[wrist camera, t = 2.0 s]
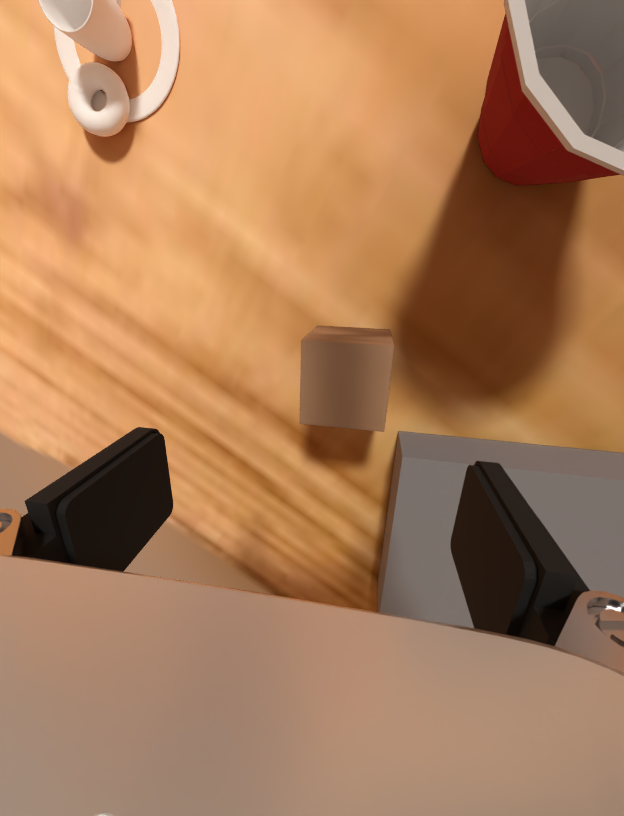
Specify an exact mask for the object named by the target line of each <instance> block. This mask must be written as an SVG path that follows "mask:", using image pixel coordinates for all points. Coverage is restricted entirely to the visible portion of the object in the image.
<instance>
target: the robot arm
mask: <svg viewBox="0 0 624 816" xmlns="http://www.w3.org/2000/svg"><path fill="white" fill-rule="evenodd" d="M25 504H26V506H27V510H28V514H26V515H24V516H23V517H21V515H20V513H19V512H18V511H16V510H13V509H0V816H624V598H623V597H620V596H618V595H615V594H611V593H608V592H604V591H593V590H592V591H590V590H589V588H588V587H587V585H586V584H585V583H584V581H583V580H582V578H581V577H580V576H579V574H578V573H577V571H576V570H575V569H574V567H573V566H572V564H571V563H570V561H569V560H568V559H567V557H566V556H565V554H564V553H563V552H562V550H561V549H560V547H559V546H558V545H557V543H556V542H555V540H554V539H553V538H552V536H551V535H550V533H549V532H548V530H547V529H546V528H545V526H544V525H543V523H542V522H541V521H540V519H539V518H538V517H537V516H536V514H535V513H534V511H533V510H532V508H531V507H530V506H529V504H528V503H527V501H526V500H525V499H524V497H523V496H522V494H521V493H520V491H519V490H518V489H517V487H516V486H515V484H514V483H513V482H512V480H511V479H510V477H509V476H508V475H507V473H506V472H505V470H504V469H503V467H502V466H501V465H500V464H499V463H495V462H485V461H476V462H475V464H474V465H469V466H468V467H467V470H466V474H465V479H464V483H463V488H462V492H461V497H460V501H459V505H458V510H457V514H456V519H455V523H454V528H453V532H452V536H451V543H450V546H451V553H452V557H453V560H454V563H455V567H456V570H457V573H458V576H459V580H460V583H461V586H462V590H463V593H464V596H465V600H466V603H467V606H468V609H469V613H470V616H471V619H472V623H473V626H474V628H470V627H465V626H460V625H453V624H447V623H441V622H435V621H429V620H423V619H417V618H411V617H405V616H399V615H393V614H387V613H381V612H375V611H368V610H362V609H356V608H350V607H344V606H338V605H332V604H326V603H320V602H314V601H307V600H301V599H295V598H289V597H283V596H276V595H270V594H264V593H257V592H251V591H245V590H239V589H232V588H226V587H219V586H213V585H207V584H200V583H194V582H188V581H181V580H175V579H168V578H162V577H155V576H148V575H142V574H135V573H129V572H123V571H124V570H125V569H126V568H127V566H128V565H129V564H130V563H131V562H132V561H133V559H134V558H135V557H136V556H137V554H138V553H139V552H140V551H141V550H142V548H143V547H144V546H145V545H146V544H147V542H148V541H149V540H150V539H151V537H152V536H153V535H154V533H156V531H157V530H158V529H159V528H160V527H161V525H162V524H163V523H164V522H165V521H166V519H167V518H168V517H169V516H170V514H171V512H172V509H173V498H172V491H171V484H170V476H169V469H168V462H167V455H166V447H165V440H164V436H163V435H162V434H160V433H159V431H158V430H157V429H152V428H141V427H138V428H135V429H134V430H132V431H131V432H129V433H128V434H126V435H125V436H123V437H122V438H120V439H119V440H117V441H116V442H114V443H113V444H111V445H110V446H108V447H106V448H105V449H103V450H102V451H100V452H99V453H97V454H96V455H94V456H93V457H91V458H90V459H88V460H87V461H85V462H84V463H82V464H81V465H79V466H77V467H76V468H74V469H73V470H71V471H70V472H68V473H67V474H65V475H64V476H62V477H61V478H59V479H58V480H56V481H55V482H53V483H52V484H50V485H49V486H47V487H46V488H44V489H42V490H41V491H39V492H38V493H36V494H35V495H33V496H32V497H30V498H29V499H27V500H26V501H25Z"/></svg>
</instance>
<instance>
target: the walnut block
mask: <svg viewBox="0 0 624 816" xmlns="http://www.w3.org/2000/svg"><path fill="white" fill-rule="evenodd" d="M393 354H394V343H393V339H392V336H391V332H390V330H388V329H370V328H352V327H334V326H317V327H315V328H314V329H313V330H312V331H311V332H310V333H309V334H308V335H307V336H305V337H304V338H303V339H302V340H301V380H300V424H308V425H318V426H328V427H339V428H349V429H359V430H369V431H380V432H384V430H385V421H386V413H387V405H388V396H389V388H390V380H391V371H392V363H393Z"/></svg>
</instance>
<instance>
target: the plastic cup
mask: <svg viewBox="0 0 624 816" xmlns="http://www.w3.org/2000/svg"><path fill="white" fill-rule="evenodd" d="M504 7H505V12H506V14H505V17H504V21H503V25H502V28H501V32H500V36H499V39H498V43H497V47H496V50H495V54H494V58H493V61H492V65H491V69H490V72H489V76H488V80H487V86H486V93H485V98H484V101H483V105H482V108H481V115H480V122H479V130H478V140H479V144H480V149H481V153H482V158H483V161H484V162H485V164H486V165H487V166H488V167H489V169H490V170H491V171H492V173H493V174H494V175H495V176H496V177H498V178H500V179H502V180H505V181H507V182H509V183H512V184H514V185H516V186H517V185H540V184H552V183H567V182H574V181H580V180H587V179H593V178H600V177H606V176H613V175H623V176H624V0H504Z"/></svg>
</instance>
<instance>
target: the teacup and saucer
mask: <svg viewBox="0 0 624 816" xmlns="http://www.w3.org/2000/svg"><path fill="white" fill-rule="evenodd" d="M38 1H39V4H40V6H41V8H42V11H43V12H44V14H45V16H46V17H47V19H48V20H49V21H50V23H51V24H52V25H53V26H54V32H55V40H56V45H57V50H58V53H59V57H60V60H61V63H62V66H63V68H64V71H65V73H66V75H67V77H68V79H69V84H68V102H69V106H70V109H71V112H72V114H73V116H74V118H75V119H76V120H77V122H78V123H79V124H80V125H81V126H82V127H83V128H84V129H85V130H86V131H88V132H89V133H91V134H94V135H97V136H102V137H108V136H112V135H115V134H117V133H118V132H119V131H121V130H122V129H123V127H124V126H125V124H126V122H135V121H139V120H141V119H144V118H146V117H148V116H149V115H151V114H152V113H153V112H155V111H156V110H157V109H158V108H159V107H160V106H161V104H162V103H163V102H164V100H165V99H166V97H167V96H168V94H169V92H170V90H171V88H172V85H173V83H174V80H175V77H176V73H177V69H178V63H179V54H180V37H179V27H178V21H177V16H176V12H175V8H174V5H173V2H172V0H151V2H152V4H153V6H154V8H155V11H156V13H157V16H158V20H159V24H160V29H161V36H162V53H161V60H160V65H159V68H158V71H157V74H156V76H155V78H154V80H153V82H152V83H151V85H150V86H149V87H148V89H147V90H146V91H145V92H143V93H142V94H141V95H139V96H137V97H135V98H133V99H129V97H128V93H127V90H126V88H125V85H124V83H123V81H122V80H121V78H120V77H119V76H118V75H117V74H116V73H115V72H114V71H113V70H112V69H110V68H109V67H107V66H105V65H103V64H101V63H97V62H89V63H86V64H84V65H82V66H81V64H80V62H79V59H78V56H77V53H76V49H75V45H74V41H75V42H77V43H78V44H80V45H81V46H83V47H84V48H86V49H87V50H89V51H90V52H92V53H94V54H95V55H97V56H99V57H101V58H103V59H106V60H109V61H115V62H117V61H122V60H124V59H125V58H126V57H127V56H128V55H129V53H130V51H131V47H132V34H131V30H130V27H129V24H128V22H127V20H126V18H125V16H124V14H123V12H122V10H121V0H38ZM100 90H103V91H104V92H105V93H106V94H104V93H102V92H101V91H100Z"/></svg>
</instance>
